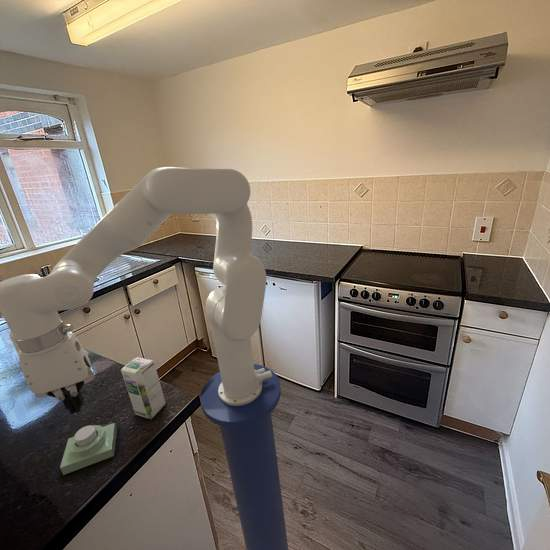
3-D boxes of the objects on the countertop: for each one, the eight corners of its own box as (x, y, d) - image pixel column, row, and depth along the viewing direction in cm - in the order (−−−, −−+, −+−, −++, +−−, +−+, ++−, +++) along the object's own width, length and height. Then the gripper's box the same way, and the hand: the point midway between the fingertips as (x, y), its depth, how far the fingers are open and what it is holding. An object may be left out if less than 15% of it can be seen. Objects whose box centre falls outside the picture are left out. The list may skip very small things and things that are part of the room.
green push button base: (117, 429, 74) (112, 417, 73) (114, 456, 67) (109, 443, 66) (71, 445, 71) (65, 432, 69) (63, 475, 64) (56, 462, 62)
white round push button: (98, 429, 70) (95, 422, 69) (95, 442, 67) (92, 436, 66) (79, 435, 69) (76, 429, 68) (75, 450, 65) (72, 443, 65)
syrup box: (134, 415, 78) (118, 370, 73) (150, 398, 83) (137, 355, 78) (151, 420, 76) (136, 374, 70) (167, 403, 81) (154, 359, 75)
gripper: (89, 317, 63) (116, 385, 70) (4, 339, 59) (42, 409, 66) (82, 335, 57) (112, 407, 64) (-14, 360, 52) (30, 435, 59)
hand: (77, 408), depth 65 cm, fingers closed
